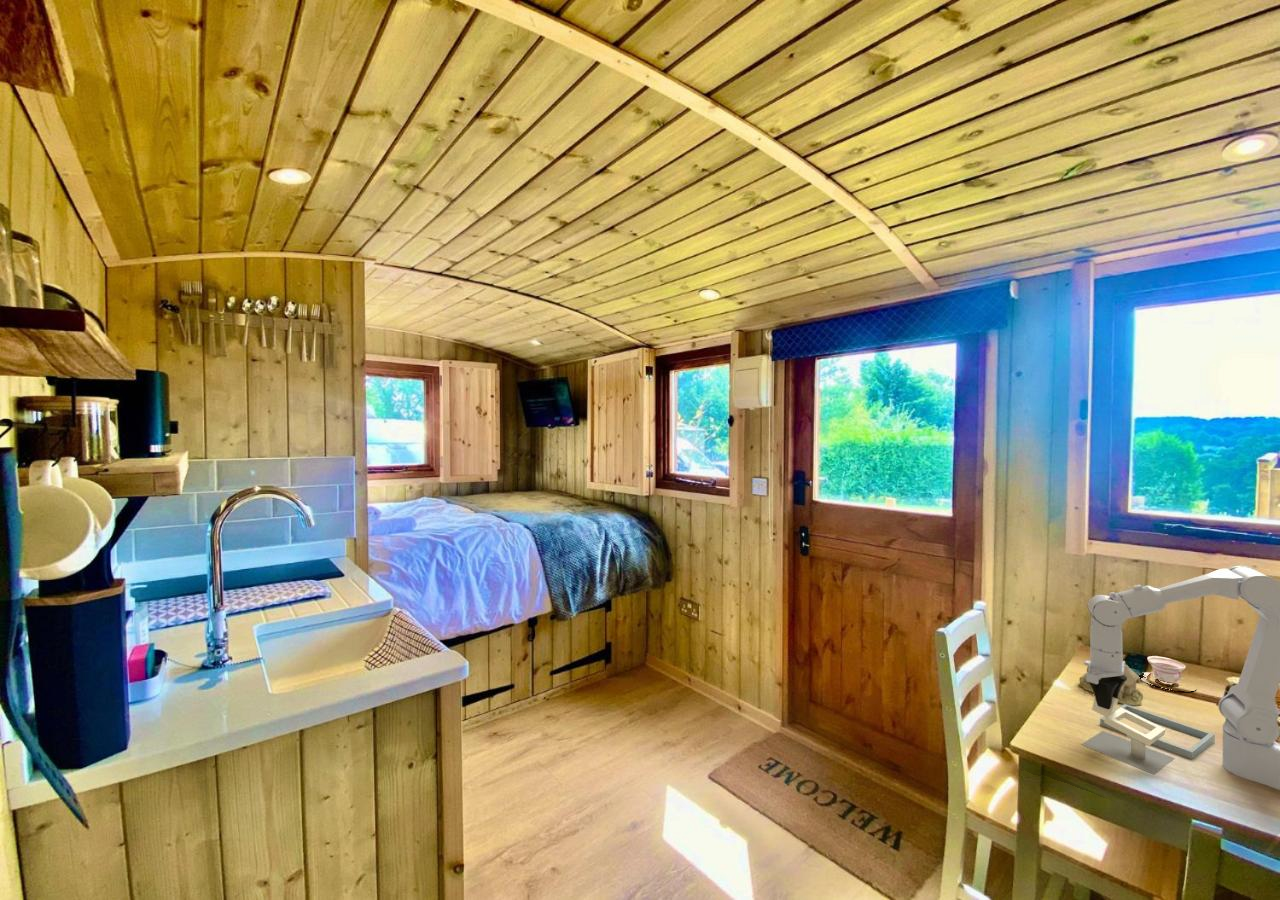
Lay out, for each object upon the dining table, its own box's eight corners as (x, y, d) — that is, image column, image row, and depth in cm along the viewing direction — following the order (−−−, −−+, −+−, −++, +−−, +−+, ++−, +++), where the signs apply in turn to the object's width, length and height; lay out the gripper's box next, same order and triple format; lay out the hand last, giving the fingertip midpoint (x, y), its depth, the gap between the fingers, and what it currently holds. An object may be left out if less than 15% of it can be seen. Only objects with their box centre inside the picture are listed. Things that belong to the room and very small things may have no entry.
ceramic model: (1151, 698, 148) (1151, 662, 148) (1135, 709, 142) (1135, 672, 142) (1089, 678, 160) (1088, 645, 160) (1072, 688, 154) (1071, 654, 154)
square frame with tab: (1164, 734, 120) (1169, 717, 119) (1149, 745, 116) (1153, 727, 116) (1101, 704, 130) (1105, 687, 129) (1085, 713, 126) (1089, 696, 125)
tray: (1214, 744, 126) (1214, 734, 126) (1192, 763, 119) (1192, 752, 119) (1124, 713, 141) (1124, 703, 140) (1100, 728, 134) (1100, 718, 134)
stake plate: (1174, 762, 120) (1174, 740, 120) (1154, 779, 115) (1154, 755, 115) (1102, 734, 131) (1102, 714, 131) (1080, 748, 126) (1080, 727, 126)
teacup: (1128, 673, 163) (1128, 653, 163) (1172, 674, 161) (1172, 654, 161) (1160, 692, 151) (1160, 670, 151) (1209, 694, 149) (1209, 672, 149)
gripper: (1099, 636, 133) (1099, 690, 133) (1070, 649, 126) (1070, 706, 126) (1136, 645, 126) (1136, 702, 127) (1108, 660, 119) (1108, 720, 120)
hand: (1106, 705), depth 126 cm, fingers closed on square frame with tab, 2 cm apart
